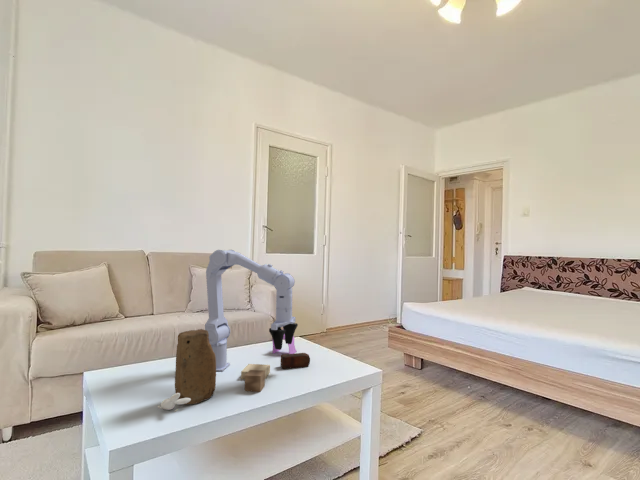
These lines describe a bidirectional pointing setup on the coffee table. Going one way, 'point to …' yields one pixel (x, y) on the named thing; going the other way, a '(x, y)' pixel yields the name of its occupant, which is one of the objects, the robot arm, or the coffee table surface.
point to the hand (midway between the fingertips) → (283, 346)
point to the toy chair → (291, 346)
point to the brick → (294, 360)
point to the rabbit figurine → (173, 402)
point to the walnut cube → (255, 380)
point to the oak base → (255, 367)
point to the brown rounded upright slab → (195, 366)
